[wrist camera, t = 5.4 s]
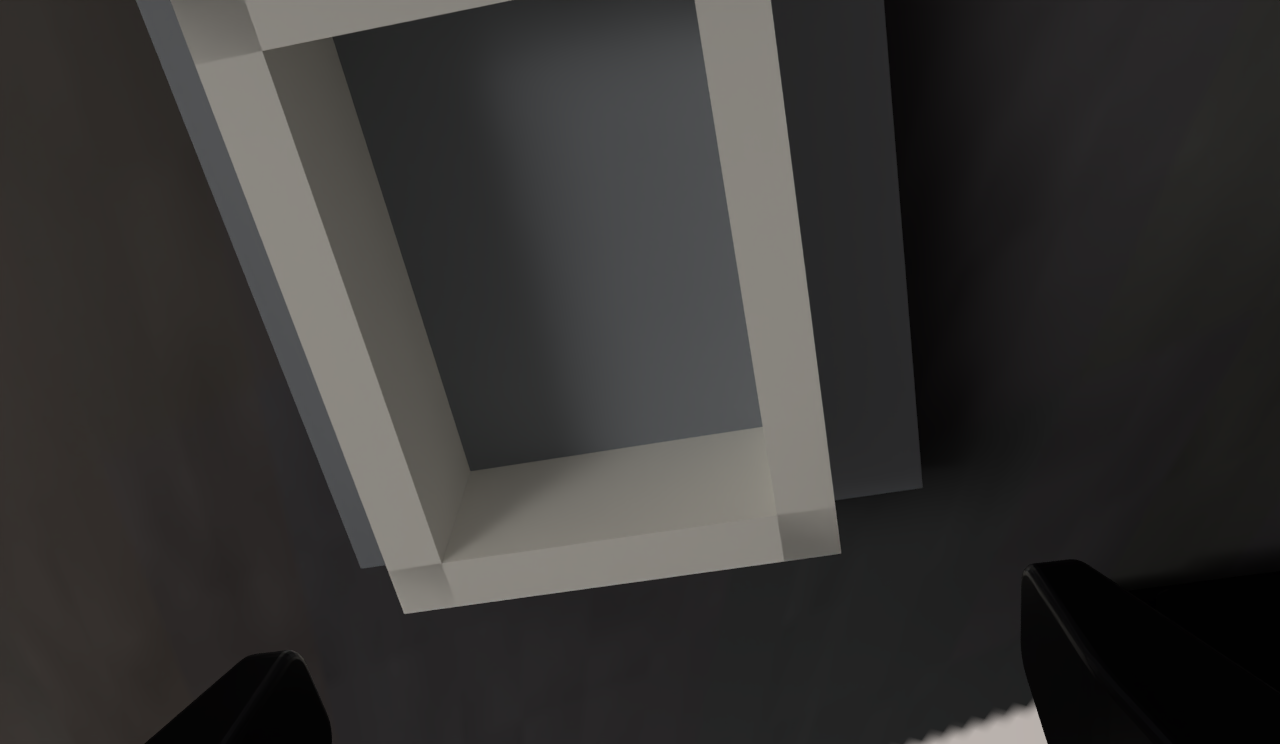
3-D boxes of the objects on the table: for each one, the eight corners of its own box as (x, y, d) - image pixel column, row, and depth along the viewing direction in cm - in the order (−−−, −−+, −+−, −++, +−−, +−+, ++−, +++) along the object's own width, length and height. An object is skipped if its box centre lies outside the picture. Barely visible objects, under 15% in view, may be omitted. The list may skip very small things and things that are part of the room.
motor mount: (912, 461, 22) (1012, 715, 15) (372, 540, 23) (262, 804, 17) (799, -880, 13) (929, -1585, 6) (-75, -627, 14) (-682, -1008, 8)
